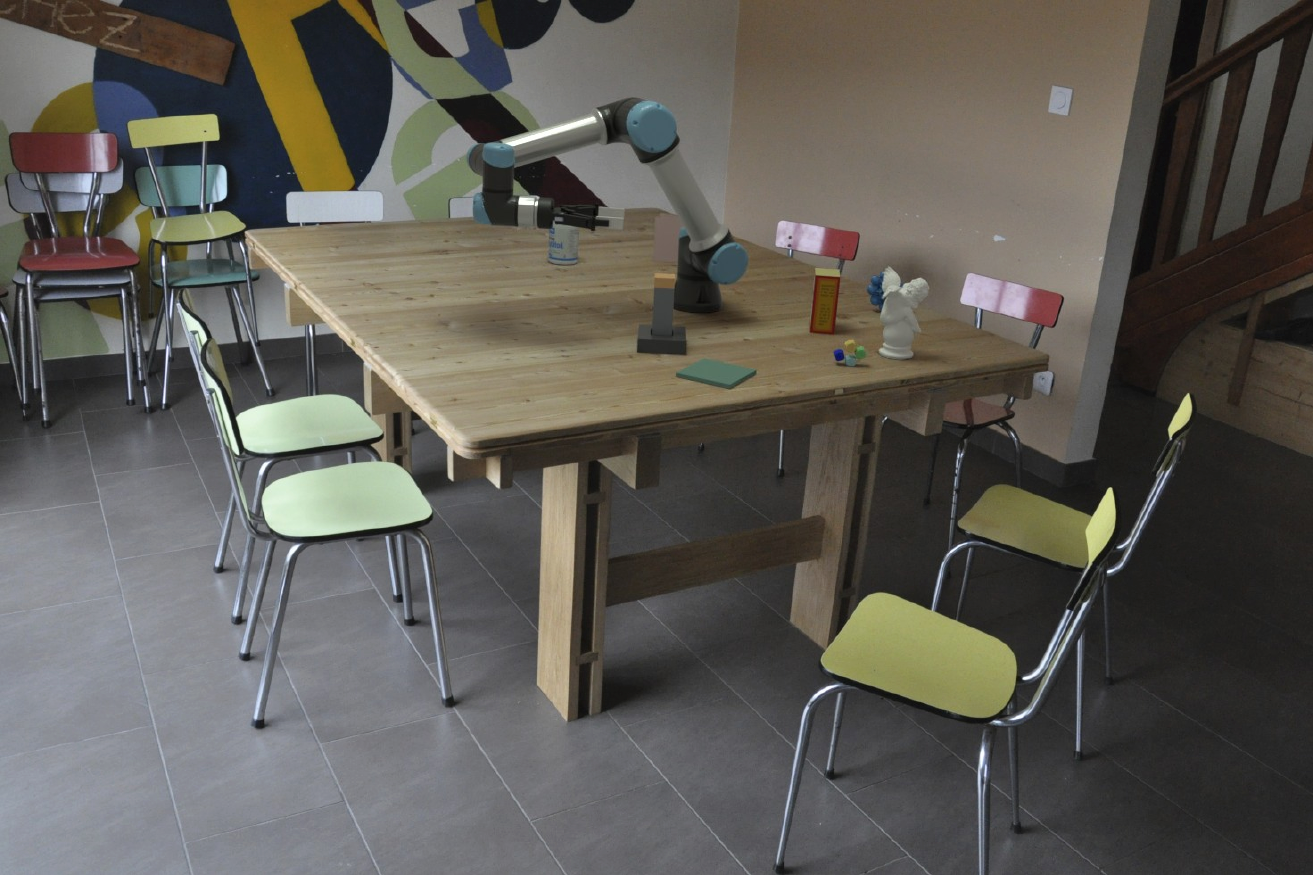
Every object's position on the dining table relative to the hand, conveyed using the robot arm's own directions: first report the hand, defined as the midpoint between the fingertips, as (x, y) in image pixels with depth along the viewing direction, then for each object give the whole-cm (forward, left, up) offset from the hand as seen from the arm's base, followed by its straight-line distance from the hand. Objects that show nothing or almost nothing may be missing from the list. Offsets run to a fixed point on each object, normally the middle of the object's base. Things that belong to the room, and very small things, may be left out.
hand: (624, 219), depth 273 cm
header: (-2, +11, -31) cm, 33 cm away
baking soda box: (-44, +37, -31) cm, 65 cm away
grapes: (-72, +45, -31) cm, 90 cm away
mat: (+10, +33, -31) cm, 46 cm away
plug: (-2, +11, -31) cm, 33 cm away
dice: (-18, +55, -31) cm, 66 cm away
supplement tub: (-62, -61, -31) cm, 92 cm away
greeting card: (-87, -36, -31) cm, 99 cm away
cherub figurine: (-32, +61, -31) cm, 76 cm away
